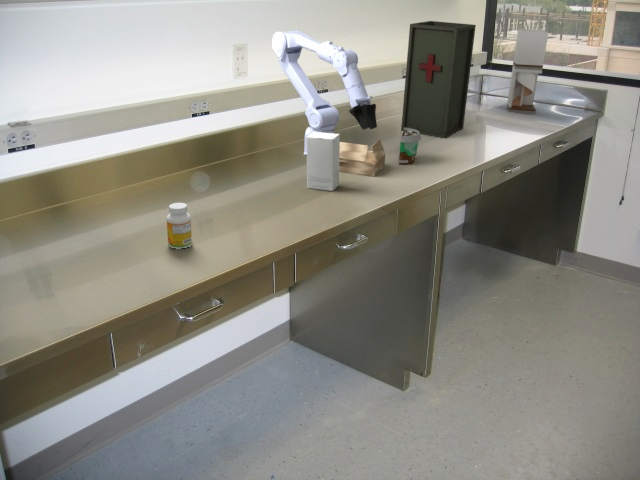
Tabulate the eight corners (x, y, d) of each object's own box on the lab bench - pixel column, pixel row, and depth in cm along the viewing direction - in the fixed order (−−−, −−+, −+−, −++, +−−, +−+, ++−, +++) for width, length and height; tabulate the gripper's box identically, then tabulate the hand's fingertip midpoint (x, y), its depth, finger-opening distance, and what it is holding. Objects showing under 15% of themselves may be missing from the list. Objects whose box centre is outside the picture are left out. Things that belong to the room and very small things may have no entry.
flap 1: (334, 157, 203) (337, 141, 203) (334, 157, 204) (337, 141, 204) (365, 161, 200) (368, 145, 200) (365, 161, 201) (368, 145, 201)
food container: (417, 167, 212) (420, 137, 208) (398, 166, 213) (400, 136, 209) (419, 157, 223) (422, 128, 219) (401, 155, 224) (404, 127, 220)
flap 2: (376, 161, 201) (370, 146, 200) (384, 154, 209) (378, 139, 208) (377, 161, 201) (371, 146, 200) (385, 154, 209) (380, 139, 208)
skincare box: (339, 185, 193) (341, 133, 187) (332, 192, 187) (334, 139, 181) (312, 181, 195) (314, 130, 189) (305, 188, 190) (306, 135, 183)
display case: (508, 112, 294) (520, 31, 280) (506, 107, 304) (518, 28, 290) (535, 114, 292) (548, 32, 278) (532, 109, 302) (544, 30, 288)
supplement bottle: (169, 240, 152) (167, 201, 149) (193, 240, 153) (191, 201, 149) (166, 250, 148) (164, 209, 144) (191, 250, 148) (188, 209, 144)
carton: (325, 169, 207) (325, 156, 205) (341, 157, 220) (341, 144, 218) (373, 176, 202) (374, 163, 200) (387, 163, 215) (388, 150, 213)
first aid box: (463, 129, 262) (475, 24, 246) (445, 138, 247) (457, 28, 231) (420, 122, 271) (430, 20, 255) (401, 130, 256) (410, 23, 240)
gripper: (358, 81, 197) (374, 124, 198) (373, 83, 210) (388, 123, 211) (338, 90, 200) (353, 132, 201) (354, 92, 213) (368, 131, 214)
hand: (370, 128), depth 206 cm, fingers open, 7 cm apart
